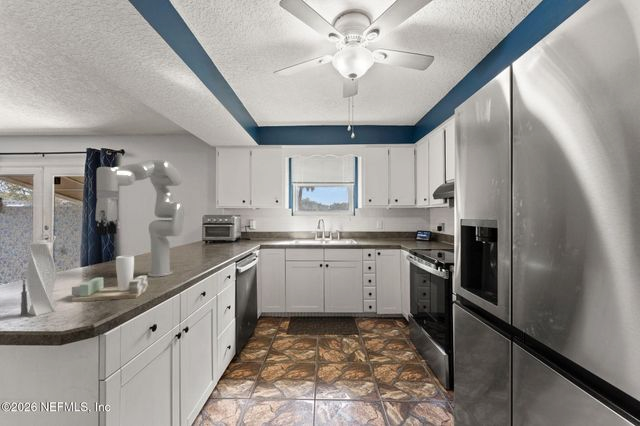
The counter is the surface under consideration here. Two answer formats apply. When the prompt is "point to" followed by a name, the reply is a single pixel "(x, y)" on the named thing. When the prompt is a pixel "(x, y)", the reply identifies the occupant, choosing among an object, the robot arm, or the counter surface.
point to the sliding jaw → (88, 287)
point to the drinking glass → (124, 271)
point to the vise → (117, 291)
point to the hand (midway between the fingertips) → (107, 234)
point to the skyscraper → (39, 279)
